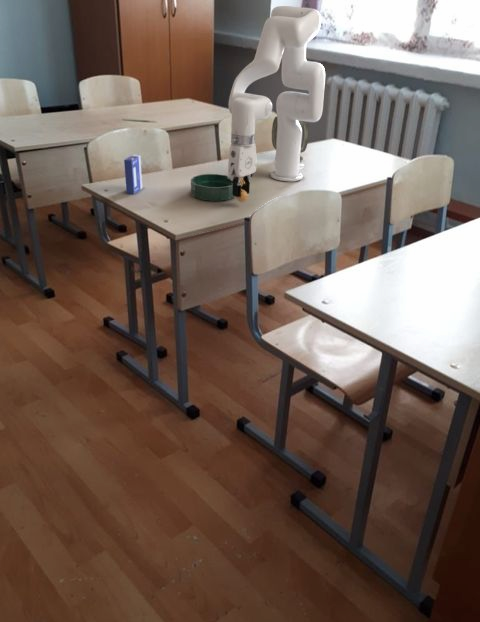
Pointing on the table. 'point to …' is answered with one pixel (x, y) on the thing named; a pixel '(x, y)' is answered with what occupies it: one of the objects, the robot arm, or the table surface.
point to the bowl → (212, 187)
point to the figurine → (242, 192)
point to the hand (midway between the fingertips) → (240, 194)
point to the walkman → (133, 174)
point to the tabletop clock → (304, 134)
